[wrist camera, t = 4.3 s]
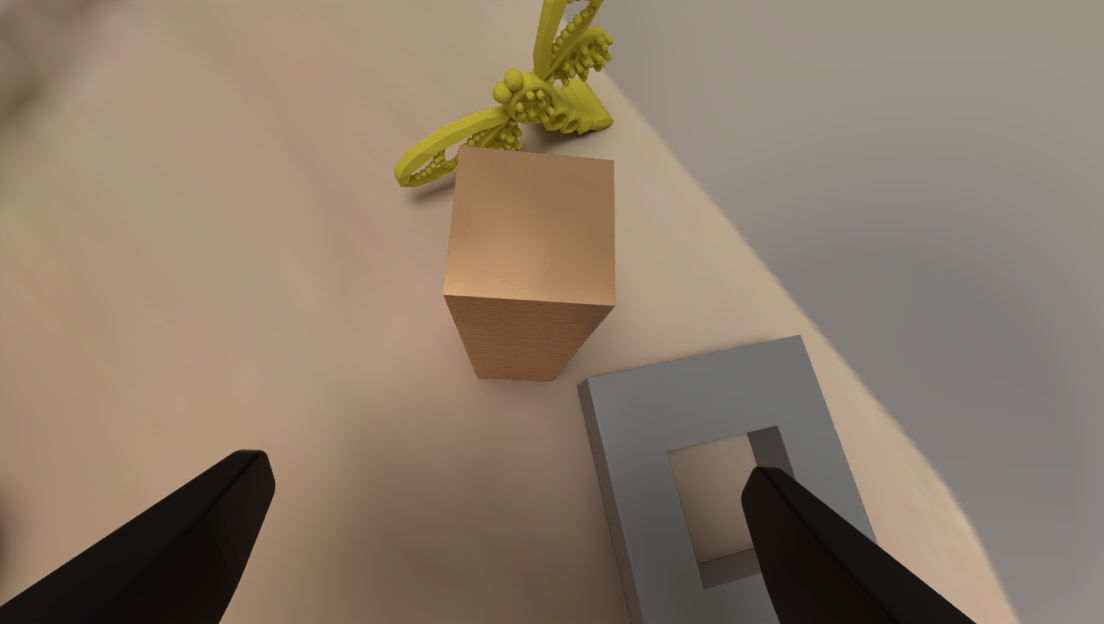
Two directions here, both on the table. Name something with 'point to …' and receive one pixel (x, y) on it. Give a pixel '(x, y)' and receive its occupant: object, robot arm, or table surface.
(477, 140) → the decorative insect
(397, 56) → the table surface
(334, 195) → the table surface
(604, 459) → the socket plate
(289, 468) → the table surface
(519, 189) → the square bit
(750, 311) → the table surface
